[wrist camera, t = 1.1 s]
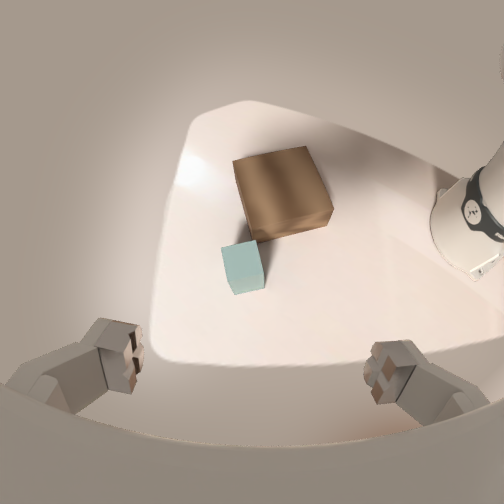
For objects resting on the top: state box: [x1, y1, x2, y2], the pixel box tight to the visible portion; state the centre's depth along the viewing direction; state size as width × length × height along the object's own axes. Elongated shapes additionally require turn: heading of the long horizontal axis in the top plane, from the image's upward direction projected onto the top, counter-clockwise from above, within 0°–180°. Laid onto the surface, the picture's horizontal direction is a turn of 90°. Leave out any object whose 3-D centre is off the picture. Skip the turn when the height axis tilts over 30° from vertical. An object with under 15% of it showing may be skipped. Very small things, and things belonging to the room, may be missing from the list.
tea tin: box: [221, 240, 264, 295], centre depth 39 cm, size 4×4×8 cm
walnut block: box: [233, 146, 334, 243], centre depth 44 cm, size 12×12×6 cm
